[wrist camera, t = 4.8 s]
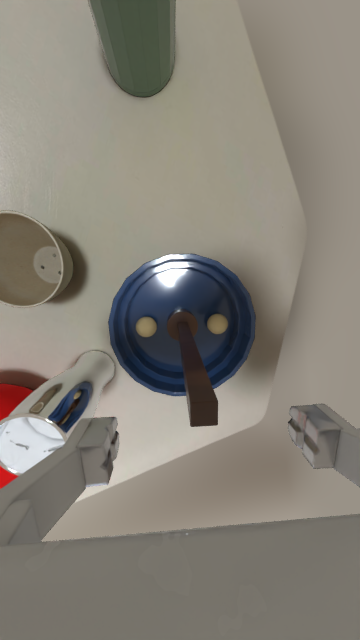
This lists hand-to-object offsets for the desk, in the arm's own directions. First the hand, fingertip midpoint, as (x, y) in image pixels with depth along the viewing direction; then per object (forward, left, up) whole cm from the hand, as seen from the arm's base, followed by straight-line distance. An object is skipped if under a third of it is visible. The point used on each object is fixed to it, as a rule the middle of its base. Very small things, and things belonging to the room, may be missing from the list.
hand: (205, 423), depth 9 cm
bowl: (0, 0, -22) cm, 22 cm away
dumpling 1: (+5, 0, -20) cm, 20 cm away
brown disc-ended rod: (0, 0, -21) cm, 21 cm away
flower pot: (+18, -9, -22) cm, 30 cm away
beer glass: (+14, +7, -22) cm, 27 cm away
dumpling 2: (-5, 0, -20) cm, 20 cm away
